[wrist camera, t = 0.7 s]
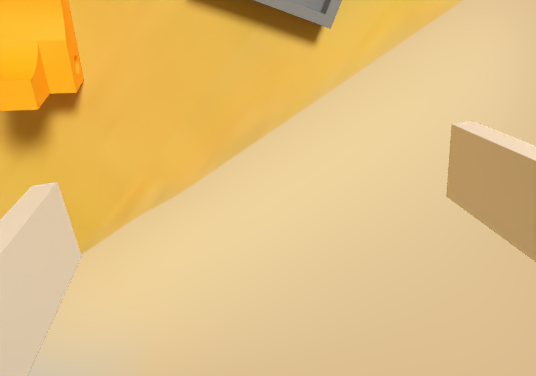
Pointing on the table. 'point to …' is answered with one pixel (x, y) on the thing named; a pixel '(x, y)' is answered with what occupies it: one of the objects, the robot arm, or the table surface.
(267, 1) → the tray
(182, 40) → the table surface
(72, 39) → the pipe clamp
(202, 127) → the table surface
